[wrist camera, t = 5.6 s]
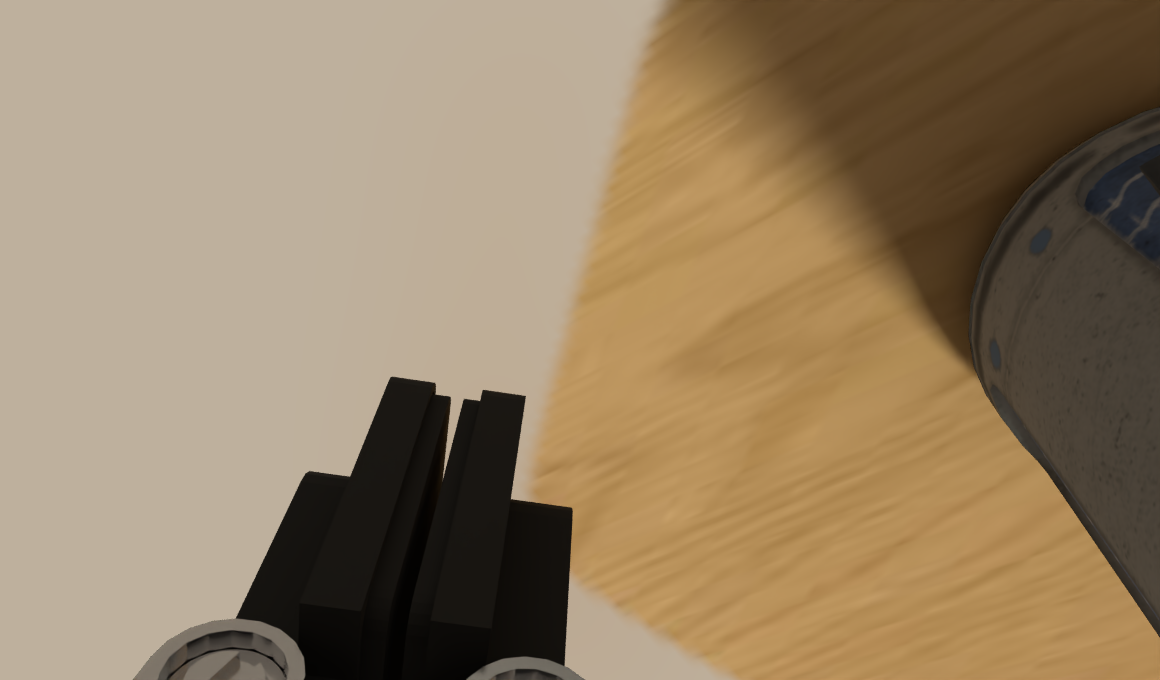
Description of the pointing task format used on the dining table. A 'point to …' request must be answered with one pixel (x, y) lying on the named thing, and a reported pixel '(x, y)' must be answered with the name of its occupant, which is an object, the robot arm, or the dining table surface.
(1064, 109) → the dining table surface
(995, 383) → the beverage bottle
